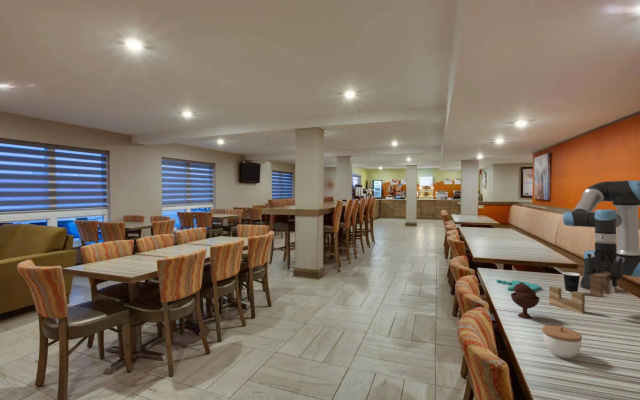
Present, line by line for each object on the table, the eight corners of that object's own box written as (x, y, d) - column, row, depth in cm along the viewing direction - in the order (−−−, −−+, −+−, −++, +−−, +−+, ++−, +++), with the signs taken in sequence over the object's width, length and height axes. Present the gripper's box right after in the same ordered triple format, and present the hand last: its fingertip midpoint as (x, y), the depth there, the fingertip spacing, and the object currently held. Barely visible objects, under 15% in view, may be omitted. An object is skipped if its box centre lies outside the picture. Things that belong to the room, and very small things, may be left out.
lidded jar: (534, 347, 111) (534, 321, 111) (562, 346, 112) (562, 320, 112) (560, 362, 100) (560, 334, 100) (590, 361, 101) (590, 333, 101)
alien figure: (508, 291, 180) (547, 294, 176) (508, 288, 180) (547, 290, 176) (496, 282, 199) (530, 284, 195) (496, 279, 199) (530, 281, 195)
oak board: (552, 303, 158) (552, 286, 158) (584, 312, 145) (584, 293, 145) (549, 304, 157) (549, 286, 157) (581, 313, 144) (581, 294, 144)
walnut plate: (606, 289, 148) (606, 271, 148) (616, 292, 145) (616, 273, 144) (590, 294, 143) (589, 274, 142) (600, 296, 139) (600, 276, 139)
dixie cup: (574, 291, 180) (574, 272, 180) (583, 295, 172) (583, 275, 172) (559, 290, 182) (559, 271, 182) (567, 294, 174) (567, 274, 174)
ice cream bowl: (531, 323, 132) (531, 288, 132) (505, 314, 142) (505, 282, 142) (544, 318, 137) (545, 285, 137) (519, 310, 147) (519, 279, 147)
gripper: (579, 240, 150) (579, 288, 151) (625, 245, 135) (625, 298, 135) (588, 239, 153) (588, 286, 154) (633, 244, 138) (634, 295, 138)
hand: (605, 291), depth 144 cm, fingers closed on walnut plate, 4 cm apart
